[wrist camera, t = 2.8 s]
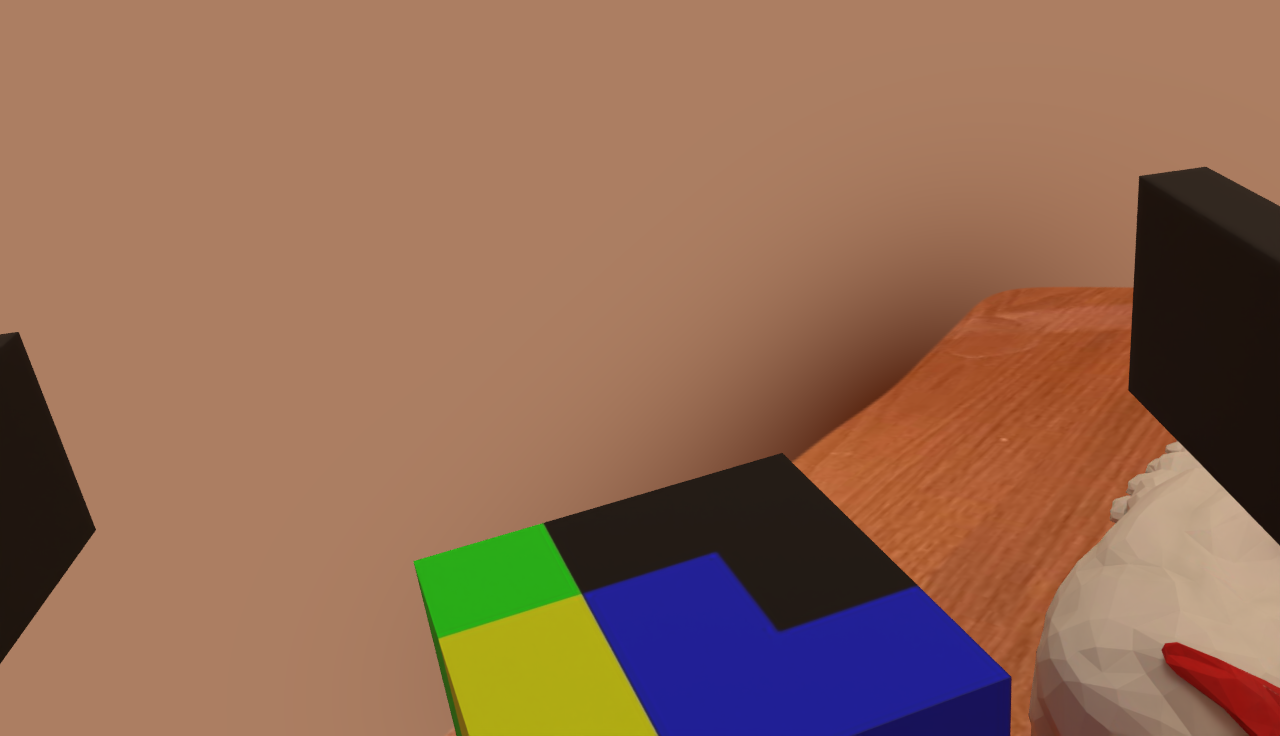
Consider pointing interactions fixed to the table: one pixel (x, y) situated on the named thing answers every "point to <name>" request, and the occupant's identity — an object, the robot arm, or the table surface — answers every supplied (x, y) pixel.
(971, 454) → the table surface
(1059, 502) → the table surface
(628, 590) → the puzzle toy
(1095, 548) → the white and red skull
